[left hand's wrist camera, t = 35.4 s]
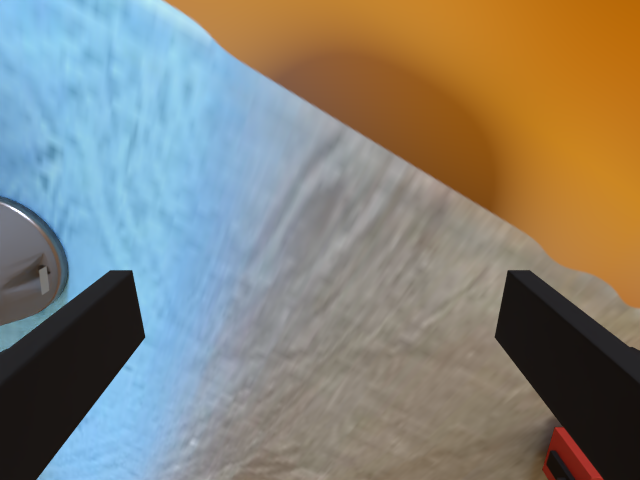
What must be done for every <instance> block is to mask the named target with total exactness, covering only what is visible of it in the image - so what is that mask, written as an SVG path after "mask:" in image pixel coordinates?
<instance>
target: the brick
mask: <svg viewBox="0 0 640 480" xmlns="http://www.w3.org/2000/svg"><path fill="white" fill-rule="evenodd" d="M550 450H556V452H557V453H558V455H559V456H560V458H561V459H562V461H563V462H564V464H565V465H566V466H567V468H568V469H569V471H570V472H571V474H572V475H573V477H574V478H575V480H604V479H603V478H602V477H601V475H600V474H599V473H598V472H597V470H596V469H595V468H594V466H593V465H592V464H591V462H590V461H589V460H588V459H587V457H586V456H585V455H584V453H583V452H582V451H581V449H580V448H579V447H578V445H577V444H576V443H575V442H574V440H573V439H572V438H571V436H570V435H569V434H568V432H567V431H566V430H565V428H564V427H555V428H554V432H553V435H552V439H551V442H550V445H549V449H548V452H547V455H546V459H545V462H544V466H543V469H542V470H543V472H544V473H545V475H546V477H547V478H548V480H555V478H554V476H553V475H552V473H551V472H550V470H549V469H548V467H547V465H546V463H547V460H548V456H549V453H550Z"/></svg>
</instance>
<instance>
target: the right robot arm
mask: <svg viewBox="0 0 640 480" xmlns="http://www.w3.org/2000/svg"><path fill="white" fill-rule="evenodd" d="M546 465H547V467H548V469H549V470H550V472H551V473H552V475H553V476H554V478H555V480H575V478H574V477H573V475H572V474H571V472H570V471H569V469H568V468H567V466H566V465H565V464H564V462H563V461H562V459H561V458H560V456H559V455H558V453H557V452H556V450H550V453H549V456H548V460H547V463H546Z"/></svg>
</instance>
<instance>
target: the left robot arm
mask: <svg viewBox="0 0 640 480" xmlns="http://www.w3.org/2000/svg"><path fill="white" fill-rule="evenodd" d="M67 275H68V267H67V260H66V256H65V252H64V250H63V247H62V245H61V243H60V241H59V239H58V238H57V236H56V235H55V233H54V232H53V231H52V229H51V228H50V227H49V226H48V225H47V224H46V223H45V222H44V221H43V220H42V219H41V218H40V217H39V216H38V215H36V214H35V213H34V212H32V211H31V210H30V209H28V208H26V207H25V206H23V205H21V204H19V203H17V202H15V201H13V200H10V199H7V198H4V197H1V196H0V326H1V325H4V324H8V323H11V322H14V321H18V320H21V319H24V318H27V317H29V316H32V315H34V314H37V313H38V312H40V311H42V310H43V309H44V308H46V307H47V306H49V305H50V304H51V303H53V302H54V301H55V300H56V299H57V298H58V297H59V296H60V294H61V293H62V291H63V289H64V287H65V284H66V281H67ZM144 338H145V333H144V328H143V323H142V318H141V313H140V308H139V302H138V297H137V292H136V287H135V282H134V277H133V272H132V270H110V271H109V272H108V273H106V274H105V275H104V276H102V277H101V278H100V279H98V280H97V281H96V282H95V283H93V284H92V285H91V286H89V287H88V288H87V289H85V290H84V291H83V292H82V293H80V294H79V295H78V296H76V297H75V298H74V299H72V300H71V301H70V302H69V303H67V304H66V305H65V306H63V307H62V308H61V309H59V310H58V311H57V312H56V313H54V314H53V315H52V316H50V317H49V318H48V319H46V320H45V321H44V322H43V323H41V324H40V325H39V326H37V327H36V328H35V329H33V330H32V331H31V332H30V333H28V334H27V335H26V336H24V337H23V338H22V339H20V340H19V341H18V342H17V343H15V344H14V345H13V346H11V347H10V348H8V349H6V350H4V351H2V352H0V480H36V479H37V478H38V477H39V475H40V474H41V473H42V472H43V470H44V469H45V468H46V466H47V465H48V464H49V462H50V461H51V460H52V459H53V457H54V456H55V455H56V453H57V452H58V451H59V449H60V448H61V447H62V445H63V444H64V443H65V442H66V440H67V439H68V438H69V436H70V435H71V434H72V432H73V431H74V430H75V428H76V427H77V426H78V425H79V423H80V422H81V421H82V419H83V418H84V417H85V415H86V414H87V413H88V411H89V410H90V409H91V408H92V406H93V405H94V404H95V402H96V401H97V400H98V398H99V397H100V396H101V394H102V393H103V392H104V391H105V389H106V388H107V387H108V385H109V384H110V383H111V381H112V380H113V379H114V377H115V376H116V375H117V374H118V372H119V371H120V370H121V368H122V367H123V366H124V364H125V363H126V362H127V361H128V359H129V358H130V357H131V355H132V354H133V353H134V351H135V350H136V349H137V347H138V346H139V345H140V344H141V342H142V341H143V340H144ZM495 338H496V340H497V341H498V342H499V344H500V345H501V346H502V347H503V349H504V350H505V351H506V353H507V354H508V355H509V357H510V358H511V359H512V361H513V362H514V363H515V364H516V366H517V367H518V368H519V370H520V371H521V372H522V374H523V375H524V376H525V377H526V379H527V380H528V381H529V383H530V384H531V385H532V387H533V388H534V389H535V391H536V392H537V393H538V394H539V396H540V397H541V398H542V400H543V401H544V402H545V404H546V405H547V406H548V408H549V409H550V410H551V411H552V413H553V414H554V415H555V417H556V418H557V419H558V421H559V422H560V423H561V425H562V426H563V427H564V428H565V430H566V431H567V432H568V434H569V435H570V436H571V438H572V439H573V440H574V442H575V443H576V444H577V445H578V447H579V448H580V449H581V451H582V452H583V453H584V455H585V456H586V457H587V459H588V460H589V461H590V462H591V464H592V465H593V466H594V468H595V469H596V470H597V472H598V473H599V474H600V475H601V477H602V478H603V479H604V480H640V351H639V350H637V349H635V348H633V347H629V346H627V345H626V344H625V343H623V342H622V341H621V340H620V339H618V338H617V337H616V336H614V335H613V334H612V333H610V332H609V331H608V330H607V329H605V328H604V327H603V326H601V325H600V324H599V323H597V322H596V321H595V320H594V319H592V318H591V317H590V316H588V315H587V314H586V313H584V312H583V311H582V310H581V309H579V308H578V307H577V306H575V305H574V304H573V303H571V302H570V301H569V300H568V299H566V298H565V297H564V296H562V295H561V294H560V293H558V292H557V291H556V290H555V289H553V288H552V287H551V286H549V285H548V284H547V283H545V282H544V281H543V280H542V279H540V278H539V277H538V276H536V275H535V274H534V273H532V272H531V271H530V270H508V272H507V277H506V282H505V287H504V292H503V297H502V302H501V308H500V313H499V318H498V323H497V328H496V333H495Z"/></svg>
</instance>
